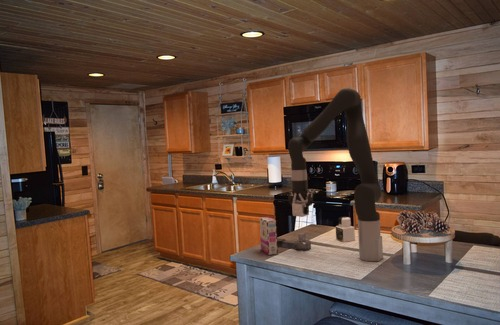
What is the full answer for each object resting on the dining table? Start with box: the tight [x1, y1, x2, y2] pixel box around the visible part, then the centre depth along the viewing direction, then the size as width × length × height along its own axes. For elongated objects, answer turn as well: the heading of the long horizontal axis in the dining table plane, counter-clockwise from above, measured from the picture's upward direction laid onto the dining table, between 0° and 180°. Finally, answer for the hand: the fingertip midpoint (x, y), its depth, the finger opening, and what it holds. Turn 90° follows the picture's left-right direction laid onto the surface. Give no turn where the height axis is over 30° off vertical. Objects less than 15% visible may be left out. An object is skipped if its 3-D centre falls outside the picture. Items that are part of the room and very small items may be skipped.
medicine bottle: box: [335, 216, 356, 243], centre depth 199 cm, size 7×7×12 cm
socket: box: [291, 201, 310, 218], centre depth 184 cm, size 6×6×6 cm
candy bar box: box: [259, 216, 279, 256], centre depth 185 cm, size 11×5×16 cm, turn 18°
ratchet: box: [277, 232, 312, 252], centre depth 192 cm, size 22×8×8 cm, turn 55°
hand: (300, 213), depth 184 cm, fingers closed on socket, 5 cm apart
